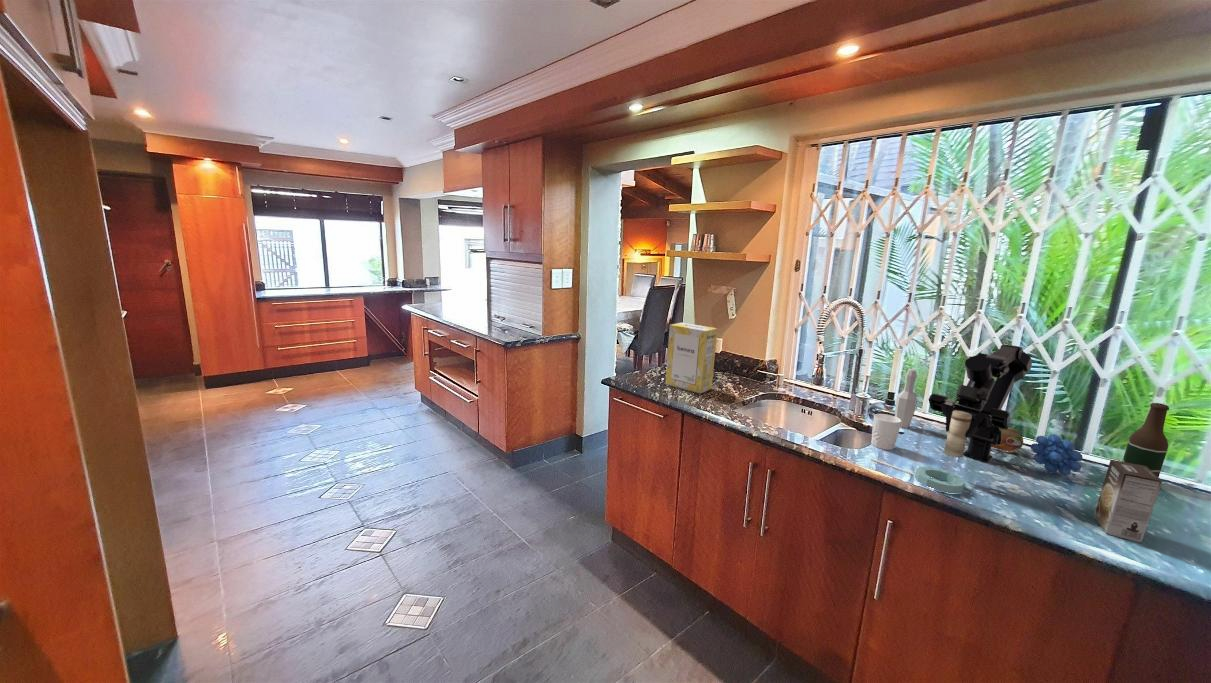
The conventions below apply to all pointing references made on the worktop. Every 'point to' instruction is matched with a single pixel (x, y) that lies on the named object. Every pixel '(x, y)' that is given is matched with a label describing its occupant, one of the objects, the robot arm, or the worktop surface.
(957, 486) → the green ring
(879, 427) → the white cup
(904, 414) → the faceted bottle
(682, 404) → the worktop surface
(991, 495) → the worktop surface
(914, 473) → the thin beige stick
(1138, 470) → the coffee box
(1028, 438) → the worktop surface
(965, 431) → the wooden pepper mill
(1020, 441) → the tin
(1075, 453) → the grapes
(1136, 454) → the beer bottle
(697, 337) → the pasta box
